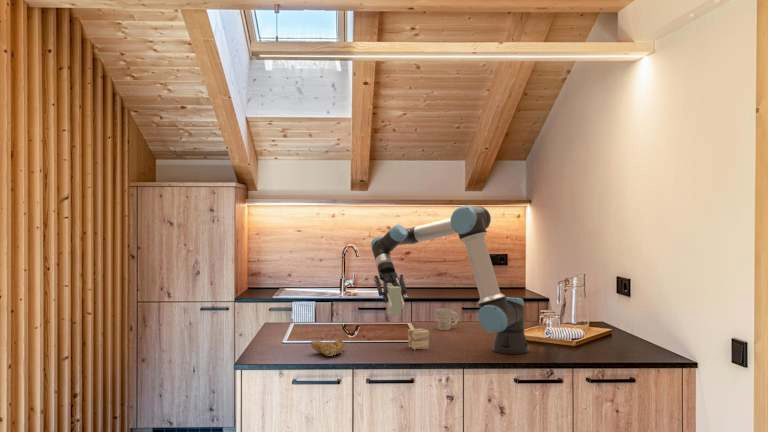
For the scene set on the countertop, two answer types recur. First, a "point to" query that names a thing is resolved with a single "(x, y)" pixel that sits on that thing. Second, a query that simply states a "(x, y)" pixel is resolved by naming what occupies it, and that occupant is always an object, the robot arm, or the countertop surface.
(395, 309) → the pale green block
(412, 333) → the slab upper
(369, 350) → the countertop surface
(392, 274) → the robot arm
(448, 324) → the mug
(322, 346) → the ginger root
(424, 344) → the beige wooden block
